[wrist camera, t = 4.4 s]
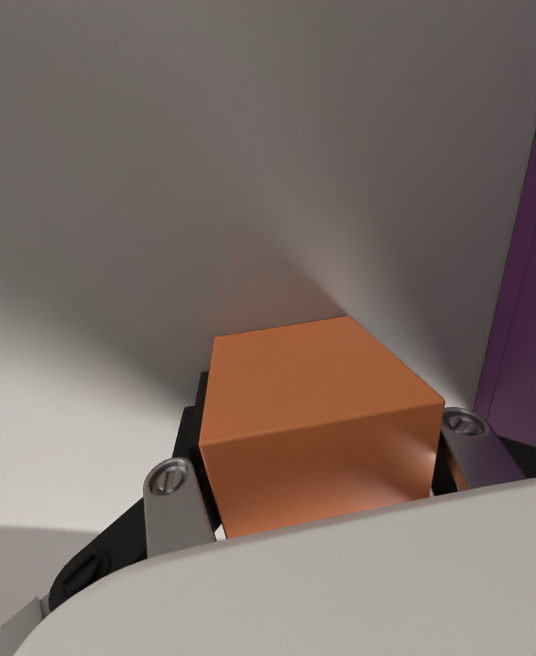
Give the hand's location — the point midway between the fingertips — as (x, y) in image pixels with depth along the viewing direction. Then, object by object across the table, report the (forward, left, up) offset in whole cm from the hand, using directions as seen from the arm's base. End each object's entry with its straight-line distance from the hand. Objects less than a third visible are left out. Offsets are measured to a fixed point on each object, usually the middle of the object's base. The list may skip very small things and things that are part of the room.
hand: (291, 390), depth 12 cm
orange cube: (0, 0, 0) cm, 0 cm away
